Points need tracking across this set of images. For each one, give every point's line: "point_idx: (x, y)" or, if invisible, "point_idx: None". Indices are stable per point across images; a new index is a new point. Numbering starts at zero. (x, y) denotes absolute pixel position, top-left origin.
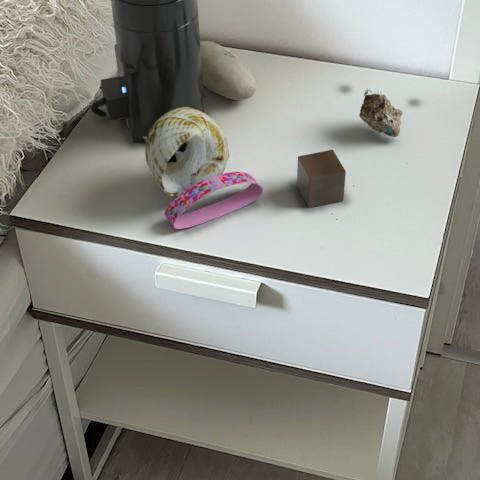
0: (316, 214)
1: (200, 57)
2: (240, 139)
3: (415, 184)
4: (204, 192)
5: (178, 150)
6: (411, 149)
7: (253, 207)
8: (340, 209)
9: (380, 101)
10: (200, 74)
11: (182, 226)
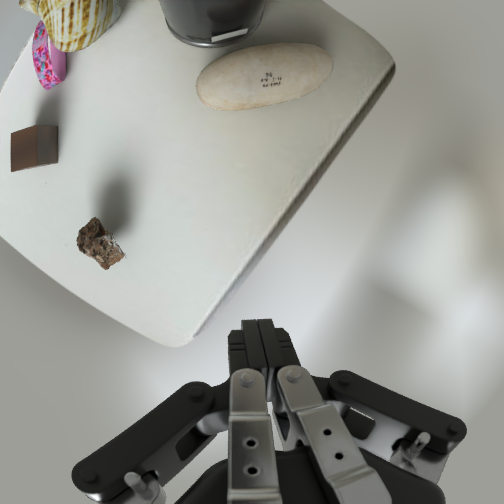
0: None
1: (182, 1)
2: (147, 77)
3: (41, 241)
4: (37, 34)
5: (118, 7)
6: (84, 258)
7: None
8: None
9: (84, 246)
10: (179, 11)
11: None
